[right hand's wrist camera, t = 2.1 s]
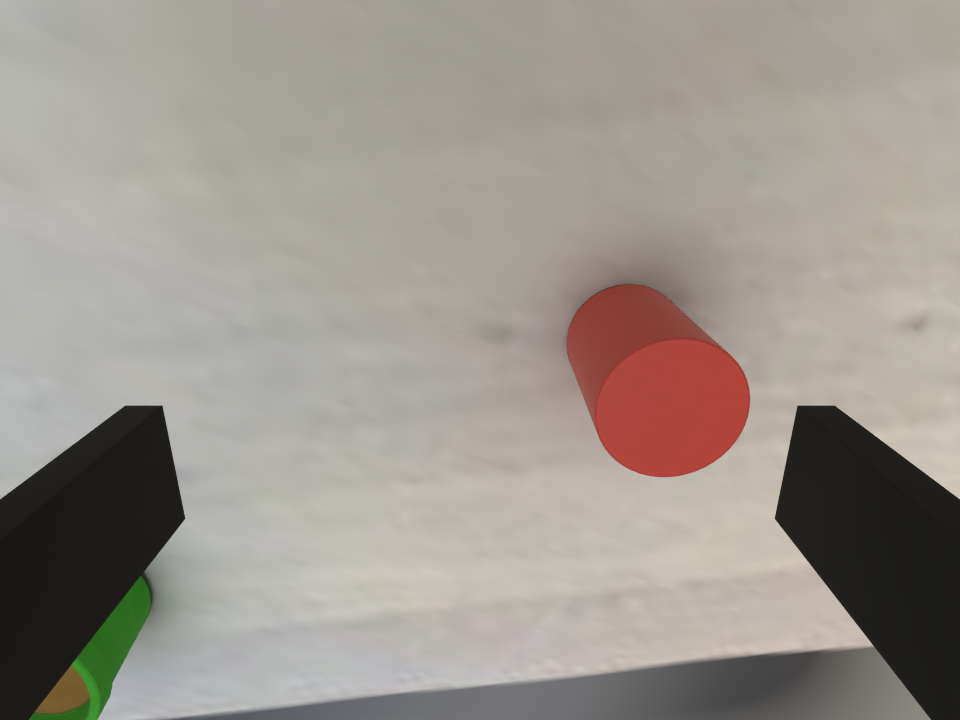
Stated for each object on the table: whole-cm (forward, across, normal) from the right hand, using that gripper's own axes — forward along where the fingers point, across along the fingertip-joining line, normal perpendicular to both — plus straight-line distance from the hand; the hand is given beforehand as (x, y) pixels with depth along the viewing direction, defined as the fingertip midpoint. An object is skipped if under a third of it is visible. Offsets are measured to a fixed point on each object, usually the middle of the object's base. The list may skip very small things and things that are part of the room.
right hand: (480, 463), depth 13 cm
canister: (+16, +7, -3) cm, 18 cm away
